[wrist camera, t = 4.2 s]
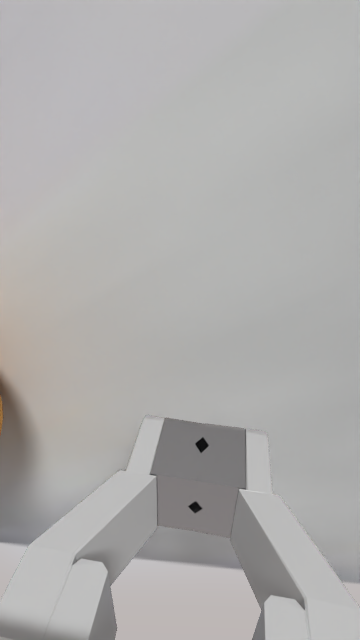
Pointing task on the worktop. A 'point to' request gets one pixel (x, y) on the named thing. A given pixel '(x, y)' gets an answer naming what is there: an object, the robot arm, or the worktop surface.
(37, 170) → the worktop surface
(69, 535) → the robot arm
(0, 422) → the ball
